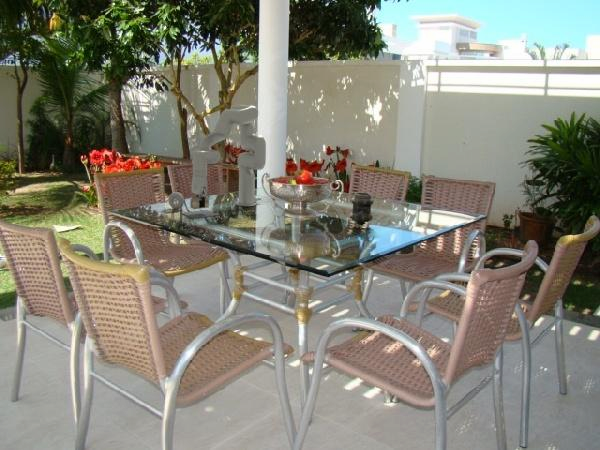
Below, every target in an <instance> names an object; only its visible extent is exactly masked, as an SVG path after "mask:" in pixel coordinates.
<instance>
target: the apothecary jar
mask: <svg viewBox="0 0 600 450" xmlns="http://www.w3.org/2000/svg"><path fill="white" fill-rule="evenodd" d="M350 202H351V204H352V211H351V212H350V214H349V218H350V219H351V220H352V221H354V222H355V223H357V224H359V225H363V224H366V223H369V222H371V221H372V220H373V217H374V215H373V214H372V212H371V211H372V205H373V204H374V199H373V198H372V194H371V193H369V192H363V191H361V192H360V191H359V192H358V191H357V192H354V196H353V197H352V198H351V199H350Z"/></svg>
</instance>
